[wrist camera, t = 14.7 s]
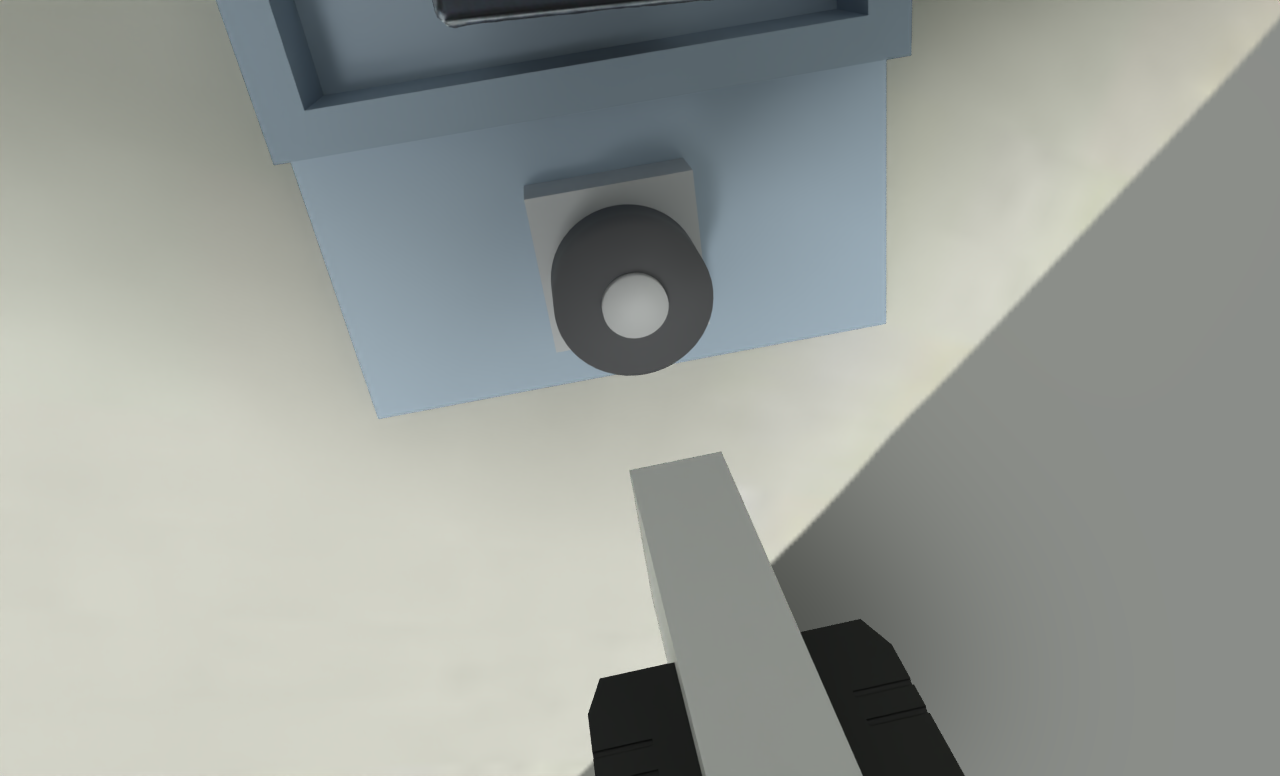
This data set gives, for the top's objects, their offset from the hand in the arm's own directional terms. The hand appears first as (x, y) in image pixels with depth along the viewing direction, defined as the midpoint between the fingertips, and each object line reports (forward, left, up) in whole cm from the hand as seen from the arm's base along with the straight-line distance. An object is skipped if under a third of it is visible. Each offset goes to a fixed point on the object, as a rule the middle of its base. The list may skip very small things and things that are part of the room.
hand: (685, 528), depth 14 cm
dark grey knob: (0, 0, -14) cm, 14 cm away
